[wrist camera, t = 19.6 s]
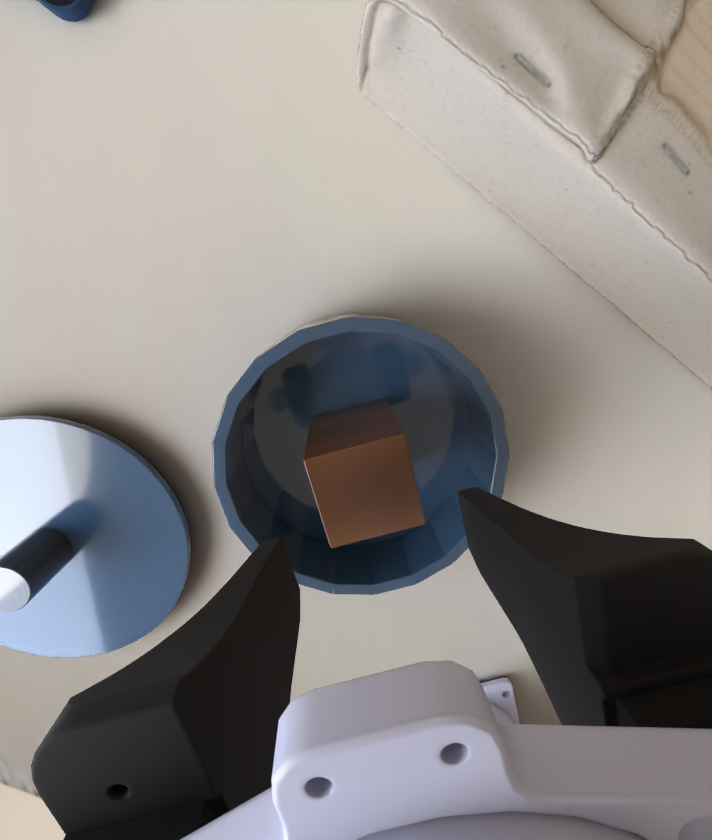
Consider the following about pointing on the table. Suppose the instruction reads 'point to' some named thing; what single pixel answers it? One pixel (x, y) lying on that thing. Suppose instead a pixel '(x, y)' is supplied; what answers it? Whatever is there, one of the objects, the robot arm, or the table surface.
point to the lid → (83, 540)
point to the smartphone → (69, 8)
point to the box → (572, 135)
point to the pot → (343, 388)
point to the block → (361, 473)
